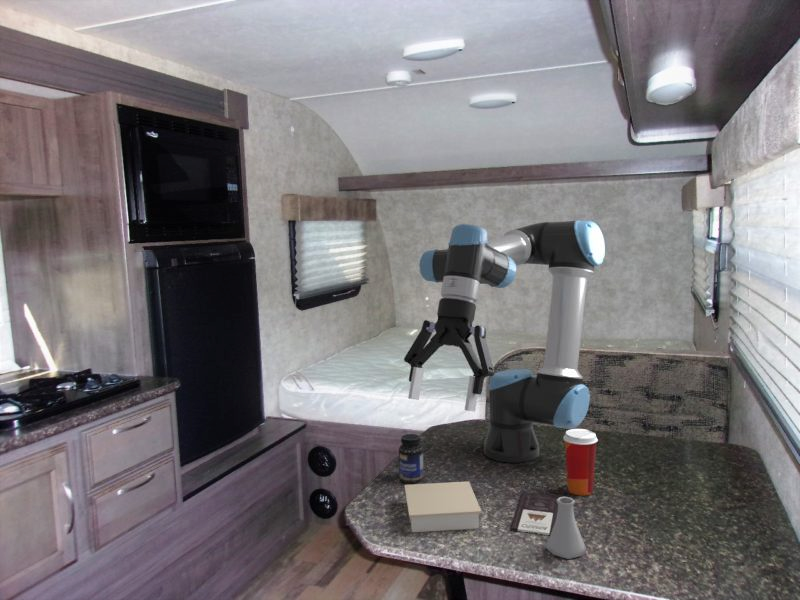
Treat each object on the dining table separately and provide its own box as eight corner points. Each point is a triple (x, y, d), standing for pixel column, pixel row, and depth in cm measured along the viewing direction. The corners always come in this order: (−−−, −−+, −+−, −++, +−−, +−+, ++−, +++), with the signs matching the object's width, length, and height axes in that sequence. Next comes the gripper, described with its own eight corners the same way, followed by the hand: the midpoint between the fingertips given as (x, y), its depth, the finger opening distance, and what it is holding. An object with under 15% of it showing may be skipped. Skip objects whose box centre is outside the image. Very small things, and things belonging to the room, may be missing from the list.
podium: (469, 497, 138) (468, 481, 138) (481, 529, 123) (481, 511, 123) (405, 501, 137) (404, 484, 137) (409, 533, 122) (409, 515, 122)
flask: (562, 536, 120) (562, 488, 119) (593, 550, 114) (593, 501, 113) (538, 548, 115) (538, 499, 114) (569, 564, 110) (569, 512, 109)
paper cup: (584, 481, 145) (584, 426, 143) (604, 494, 138) (604, 436, 136) (556, 487, 143) (556, 430, 141) (575, 500, 135) (575, 440, 134)
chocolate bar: (562, 496, 136) (556, 534, 120) (562, 500, 137) (556, 538, 120) (522, 491, 139) (511, 528, 122) (522, 495, 139) (511, 532, 123)
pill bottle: (396, 483, 148) (395, 440, 147) (402, 473, 154) (401, 432, 152) (420, 485, 146) (419, 441, 145) (426, 475, 152) (425, 433, 151)
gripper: (399, 293, 125) (381, 393, 123) (504, 300, 110) (485, 414, 107) (419, 300, 131) (402, 396, 128) (522, 308, 116) (505, 417, 113)
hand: (440, 405), depth 118 cm, fingers open, 13 cm apart
